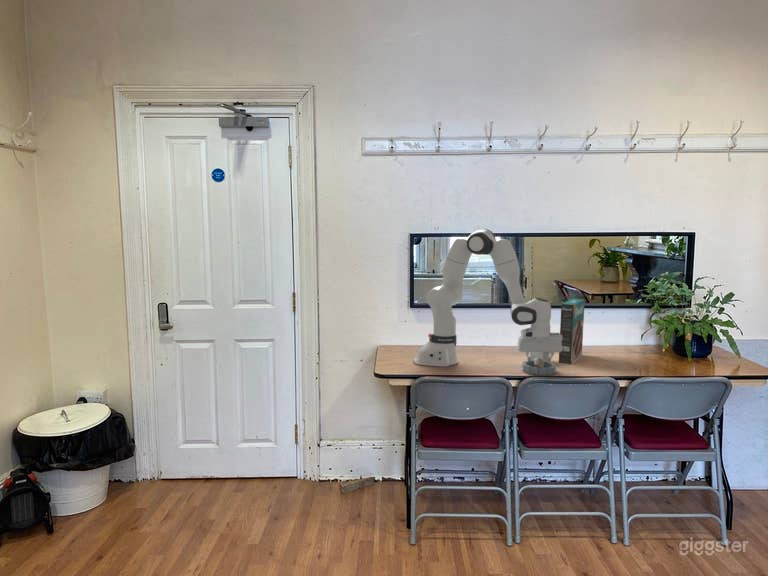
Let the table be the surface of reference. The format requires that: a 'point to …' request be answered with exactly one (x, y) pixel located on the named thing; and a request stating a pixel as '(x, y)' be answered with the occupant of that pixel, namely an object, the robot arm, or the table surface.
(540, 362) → the wooden bead
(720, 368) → the table surface
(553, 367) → the round dish
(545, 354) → the supplement box
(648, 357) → the table surface
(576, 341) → the cake mix box
